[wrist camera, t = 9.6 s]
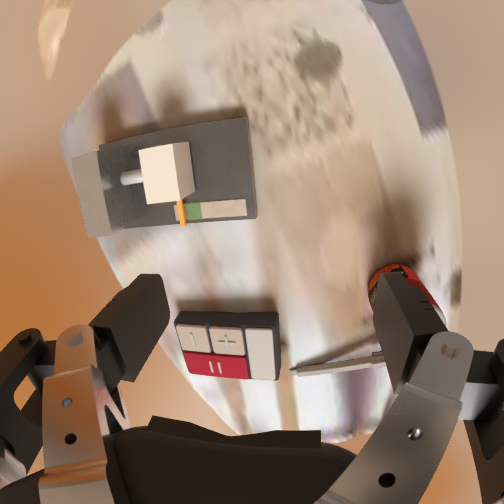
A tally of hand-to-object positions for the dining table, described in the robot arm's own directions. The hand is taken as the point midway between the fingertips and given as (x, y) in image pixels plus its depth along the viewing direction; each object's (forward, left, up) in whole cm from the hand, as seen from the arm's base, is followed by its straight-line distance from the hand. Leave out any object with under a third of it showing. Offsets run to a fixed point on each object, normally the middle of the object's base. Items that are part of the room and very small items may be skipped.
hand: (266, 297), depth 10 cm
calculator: (+24, -10, -27) cm, 37 cm away
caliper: (+27, +9, -26) cm, 39 cm away
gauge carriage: (-1, -15, -24) cm, 28 cm away
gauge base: (-2, -14, -26) cm, 29 cm away
